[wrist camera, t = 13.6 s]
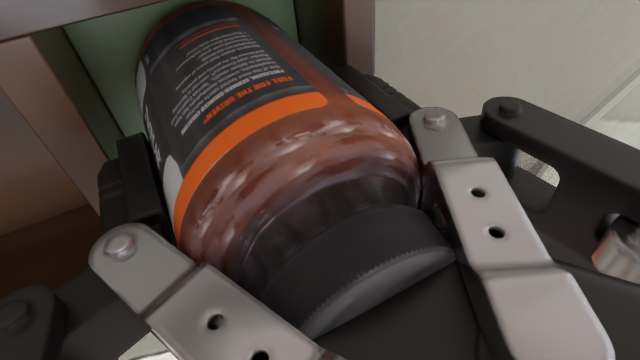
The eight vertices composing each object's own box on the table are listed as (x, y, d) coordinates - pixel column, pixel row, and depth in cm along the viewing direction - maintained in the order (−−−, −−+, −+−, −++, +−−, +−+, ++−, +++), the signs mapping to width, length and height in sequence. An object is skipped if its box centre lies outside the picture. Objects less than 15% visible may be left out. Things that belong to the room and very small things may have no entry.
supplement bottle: (99, 105, 13) (133, 461, 5) (190, -48, 12) (419, 139, 4) (235, 163, 17) (365, 410, 9) (315, 57, 16) (544, 246, 8)
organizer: (326, 127, 20) (374, 178, 17) (-98, 288, 15) (-145, 405, 12) (302, -111, 13) (377, -101, 10) (-519, 37, 8) (-929, 159, 5)
